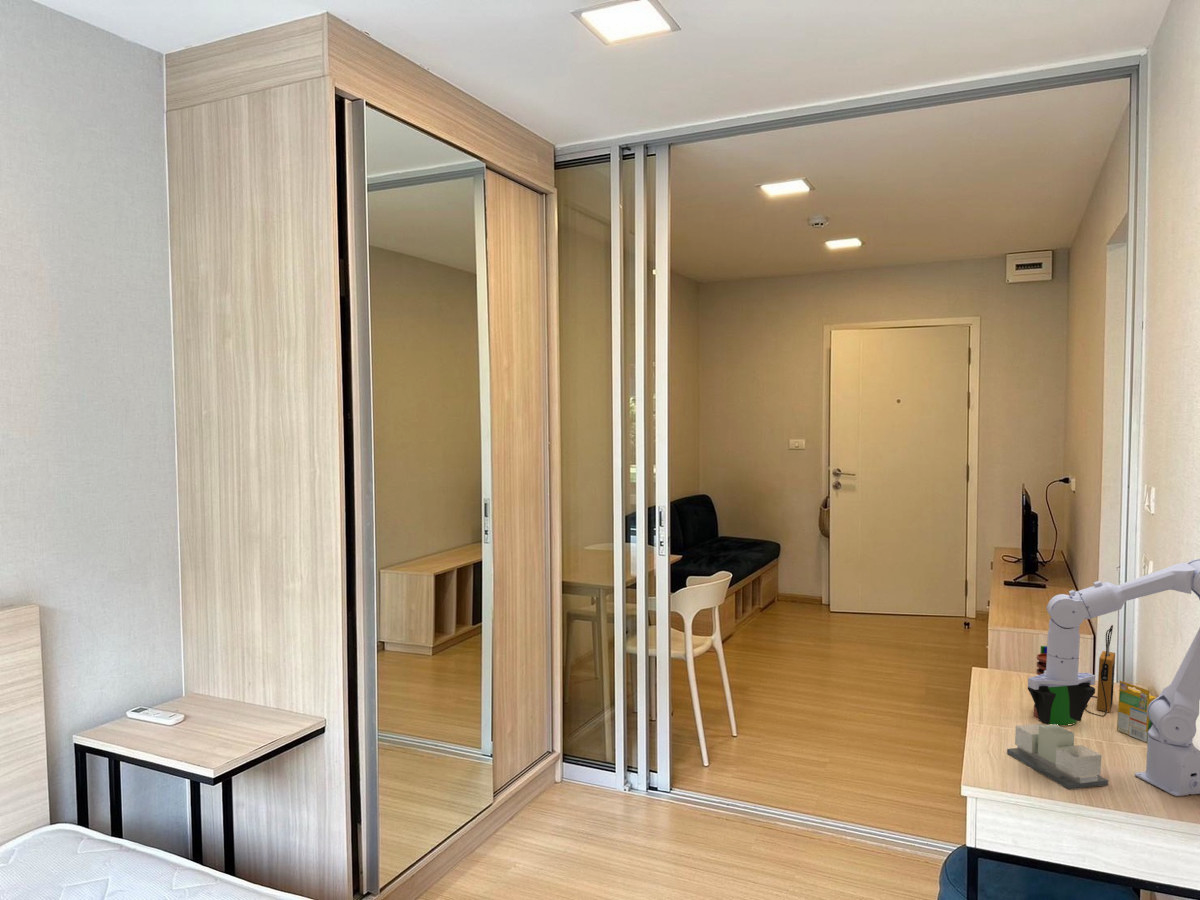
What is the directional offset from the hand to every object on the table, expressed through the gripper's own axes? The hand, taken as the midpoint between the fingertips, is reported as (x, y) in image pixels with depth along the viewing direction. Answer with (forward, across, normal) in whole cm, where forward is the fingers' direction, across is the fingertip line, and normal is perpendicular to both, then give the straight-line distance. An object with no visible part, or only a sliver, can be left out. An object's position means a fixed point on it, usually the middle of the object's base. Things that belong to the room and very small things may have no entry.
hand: (1059, 721), depth 175 cm
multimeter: (+10, -35, -29) cm, 46 cm away
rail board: (+9, +1, +1) cm, 10 cm away
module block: (+7, +1, +1) cm, 8 cm away
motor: (+10, -20, -23) cm, 32 cm away
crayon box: (+10, -30, -10) cm, 33 cm away
